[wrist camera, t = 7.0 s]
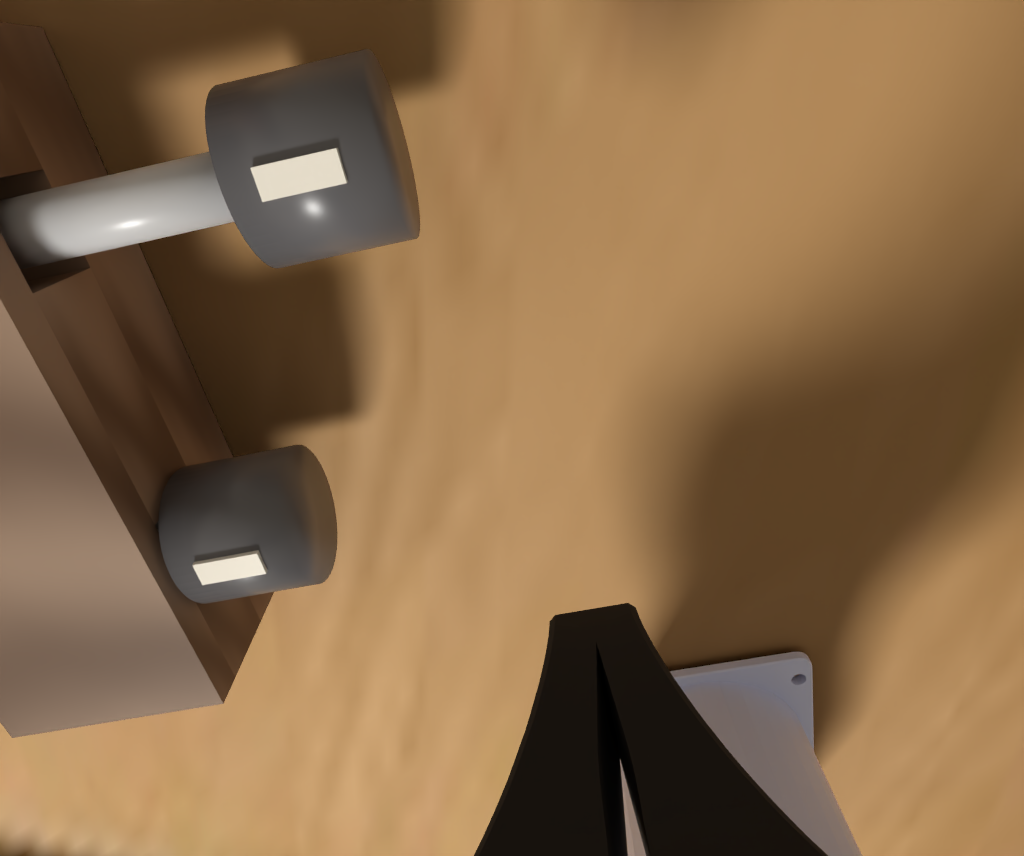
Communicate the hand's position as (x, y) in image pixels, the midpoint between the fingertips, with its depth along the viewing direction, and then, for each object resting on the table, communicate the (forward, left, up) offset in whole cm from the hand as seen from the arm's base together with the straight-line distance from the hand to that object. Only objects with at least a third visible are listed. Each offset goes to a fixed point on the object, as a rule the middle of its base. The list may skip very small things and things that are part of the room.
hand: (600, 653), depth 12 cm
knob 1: (+8, +7, -8) cm, 13 cm away
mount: (+4, +13, -10) cm, 17 cm away
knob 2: (0, +11, -8) cm, 14 cm away
